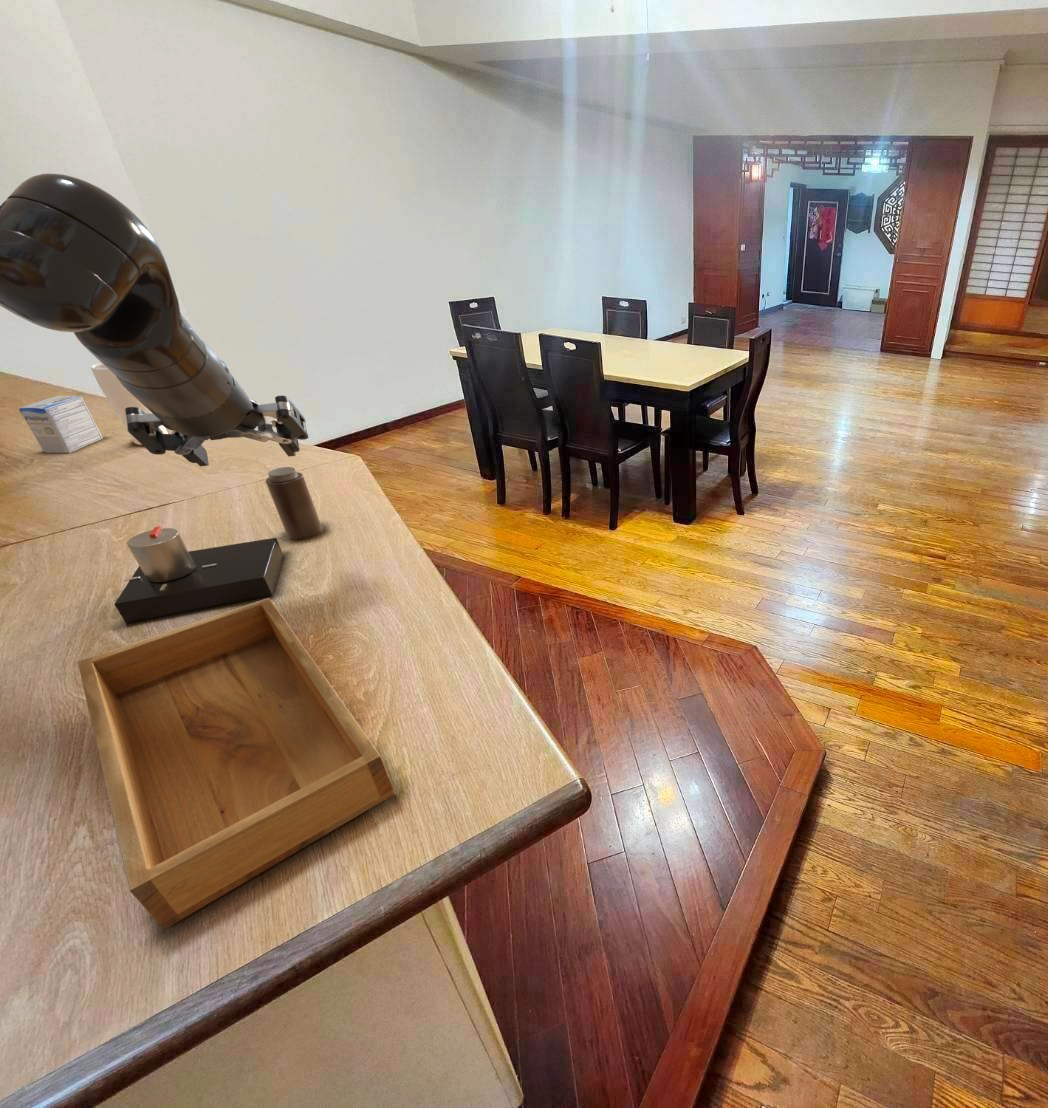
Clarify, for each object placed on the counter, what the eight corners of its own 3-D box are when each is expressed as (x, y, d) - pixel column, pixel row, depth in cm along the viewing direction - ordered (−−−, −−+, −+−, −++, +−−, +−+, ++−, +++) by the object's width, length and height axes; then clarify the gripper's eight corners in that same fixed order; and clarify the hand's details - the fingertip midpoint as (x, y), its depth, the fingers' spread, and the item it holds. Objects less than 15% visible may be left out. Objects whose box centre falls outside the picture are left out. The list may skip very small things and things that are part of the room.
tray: (397, 796, 50) (379, 751, 47) (166, 934, 40) (125, 887, 37) (287, 636, 68) (269, 596, 65) (107, 705, 58) (76, 661, 55)
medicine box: (79, 439, 116) (55, 395, 112) (104, 439, 117) (81, 395, 112) (43, 453, 109) (16, 407, 105) (70, 453, 110) (44, 408, 105)
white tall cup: (168, 433, 120) (133, 358, 113) (180, 441, 117) (144, 364, 110) (125, 442, 116) (85, 364, 108) (136, 450, 112) (95, 370, 105)
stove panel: (122, 626, 68) (108, 603, 66) (150, 578, 76) (138, 557, 75) (272, 596, 74) (263, 575, 72) (284, 555, 82) (275, 536, 81)
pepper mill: (286, 542, 85) (260, 479, 80) (289, 529, 89) (265, 467, 84) (321, 537, 87) (298, 474, 82) (324, 524, 90) (301, 463, 85)
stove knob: (190, 577, 72) (171, 539, 69) (141, 586, 70) (119, 547, 67) (199, 559, 75) (181, 523, 72) (153, 567, 73) (132, 530, 71)
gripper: (86, 425, 53) (177, 492, 67) (278, 408, 58) (324, 473, 73) (77, 351, 54) (169, 433, 68) (266, 342, 60) (313, 419, 74)
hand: (249, 454), depth 71 cm, fingers open, 8 cm apart
